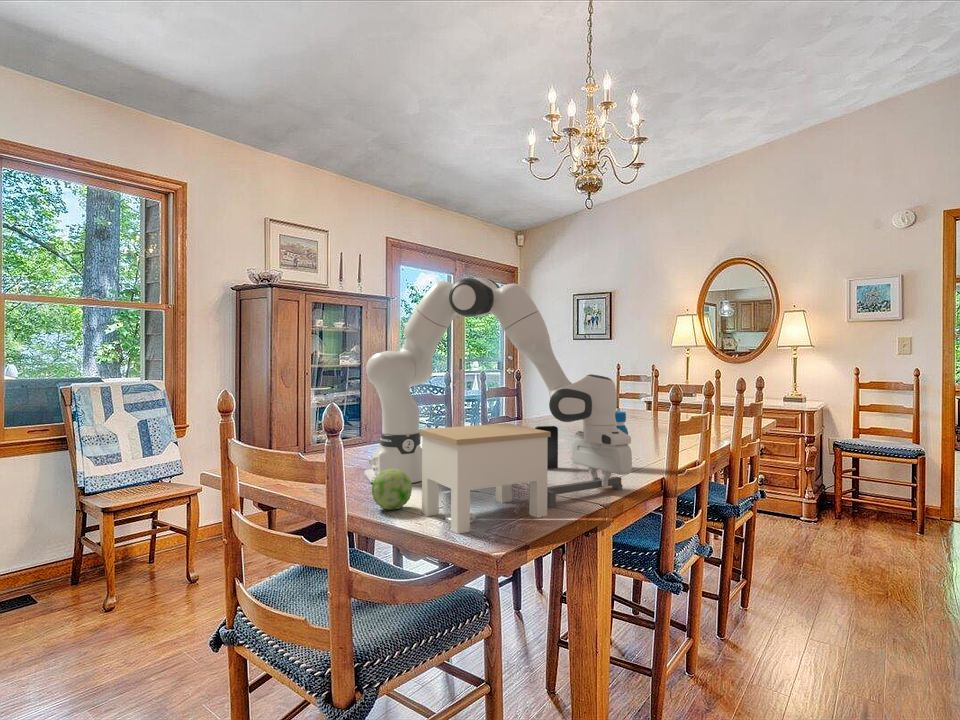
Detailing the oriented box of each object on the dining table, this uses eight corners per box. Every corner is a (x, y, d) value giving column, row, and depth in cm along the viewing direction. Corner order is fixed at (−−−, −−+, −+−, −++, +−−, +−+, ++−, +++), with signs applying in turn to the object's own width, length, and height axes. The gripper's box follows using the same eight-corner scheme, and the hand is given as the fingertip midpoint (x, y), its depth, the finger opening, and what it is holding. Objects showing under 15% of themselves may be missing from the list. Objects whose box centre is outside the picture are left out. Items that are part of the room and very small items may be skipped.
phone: (556, 471, 183) (556, 425, 183) (557, 471, 182) (558, 426, 182) (533, 472, 181) (534, 426, 181) (535, 473, 180) (535, 426, 180)
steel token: (439, 520, 129) (439, 515, 129) (464, 515, 133) (464, 510, 133) (455, 527, 124) (455, 522, 124) (481, 522, 128) (481, 517, 128)
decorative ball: (420, 508, 138) (420, 468, 138) (389, 517, 130) (389, 475, 130) (393, 501, 144) (393, 463, 144) (362, 509, 137) (363, 469, 137)
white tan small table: (419, 512, 134) (419, 429, 134) (505, 499, 147) (506, 423, 147) (456, 534, 118) (456, 439, 118) (550, 517, 131) (550, 431, 130)
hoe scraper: (550, 510, 137) (550, 492, 137) (529, 502, 144) (529, 485, 144) (631, 496, 151) (631, 480, 151) (607, 489, 159) (607, 474, 159)
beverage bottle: (631, 476, 176) (631, 413, 175) (604, 476, 176) (604, 413, 175) (624, 470, 184) (625, 410, 184) (599, 470, 184) (599, 410, 184)
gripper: (566, 430, 158) (566, 479, 158) (618, 440, 141) (618, 494, 141) (583, 429, 161) (583, 476, 162) (636, 438, 144) (635, 491, 144)
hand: (599, 485), depth 151 cm, fingers closed on hoe scraper, 2 cm apart
